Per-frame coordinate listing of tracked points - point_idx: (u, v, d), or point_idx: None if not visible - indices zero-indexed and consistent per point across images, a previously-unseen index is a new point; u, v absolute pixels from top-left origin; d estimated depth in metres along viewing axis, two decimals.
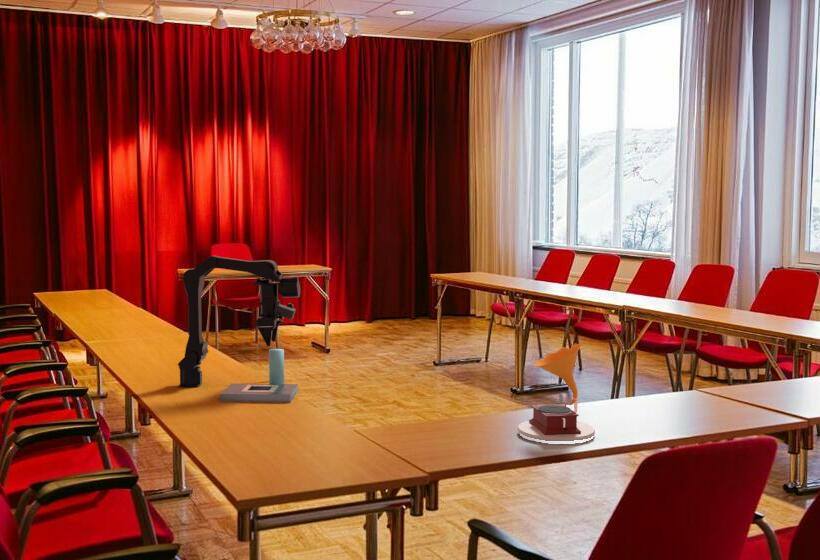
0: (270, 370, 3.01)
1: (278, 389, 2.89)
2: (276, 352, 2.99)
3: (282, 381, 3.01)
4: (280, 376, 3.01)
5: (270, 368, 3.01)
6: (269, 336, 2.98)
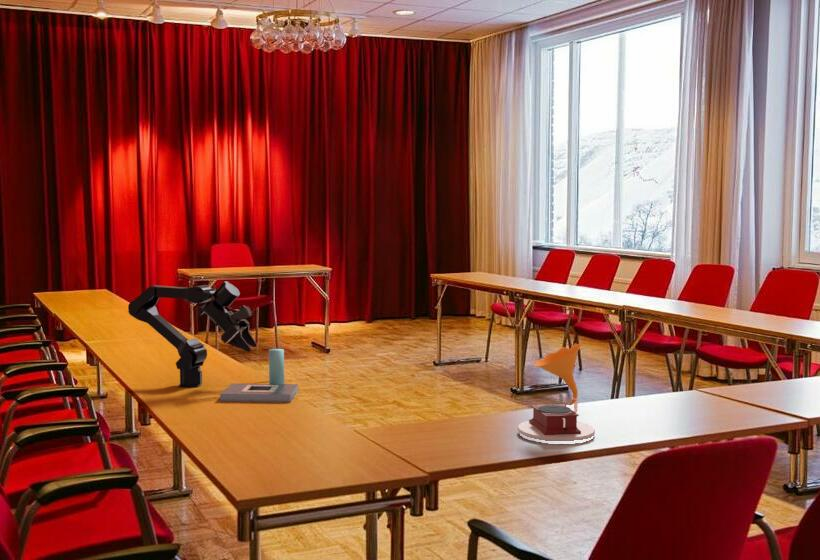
0: (270, 370, 3.01)
1: (278, 389, 2.89)
2: (276, 352, 2.99)
3: (282, 381, 3.01)
4: (280, 376, 3.01)
5: (270, 368, 3.01)
6: (243, 342, 2.96)
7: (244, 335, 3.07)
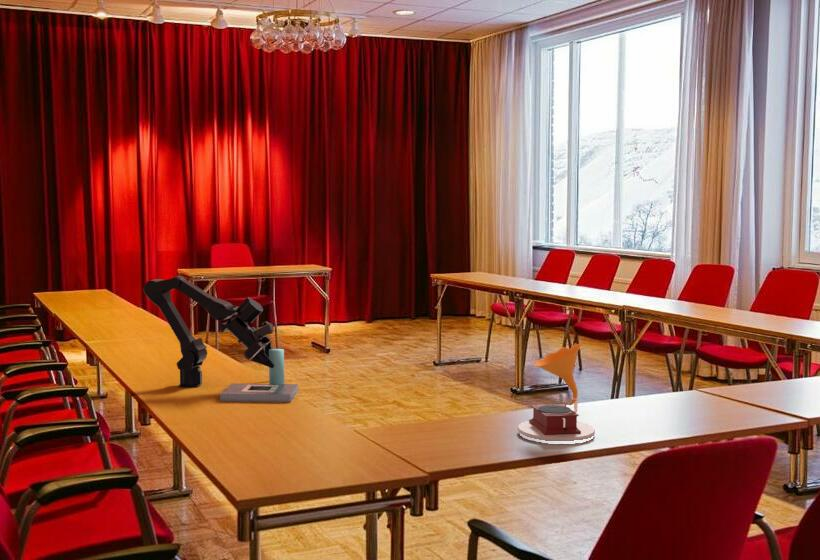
0: (270, 370, 3.01)
1: (278, 389, 2.89)
2: (276, 352, 2.99)
3: (282, 381, 3.01)
4: (280, 376, 3.01)
5: (270, 368, 3.01)
6: (266, 359, 2.96)
7: (266, 351, 3.07)
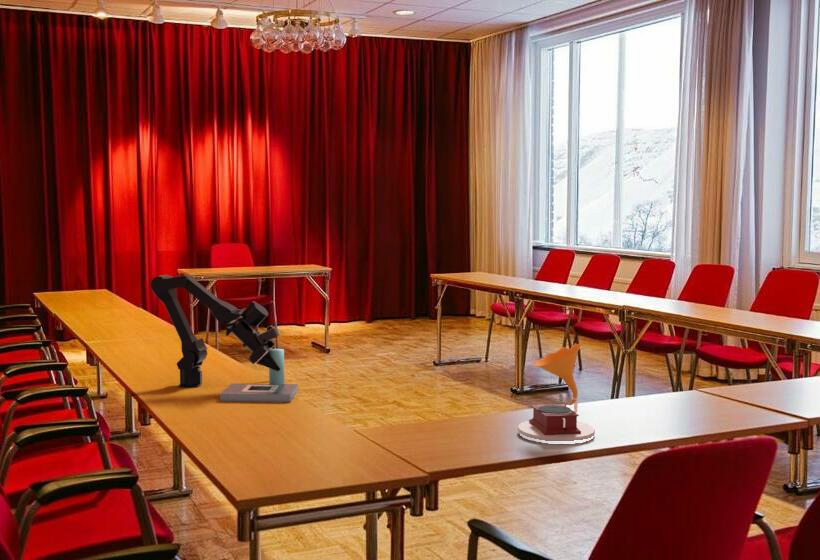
0: (270, 370, 3.01)
1: (278, 389, 2.89)
2: (276, 352, 2.99)
3: (282, 381, 3.01)
4: (280, 376, 3.01)
5: (270, 368, 3.01)
6: (272, 362, 2.98)
7: None
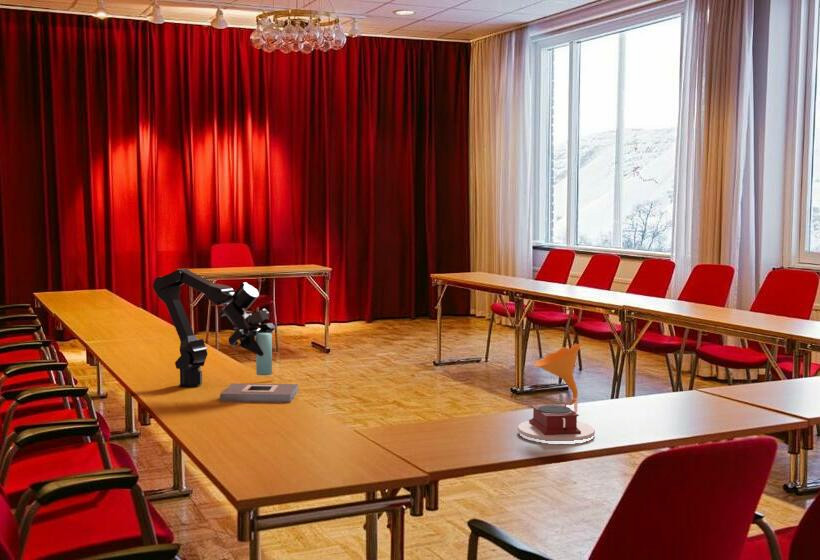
0: (256, 354, 2.90)
1: (278, 389, 2.89)
2: (260, 336, 2.88)
3: (267, 367, 2.89)
4: (265, 362, 2.89)
5: None
6: (255, 346, 2.88)
7: None
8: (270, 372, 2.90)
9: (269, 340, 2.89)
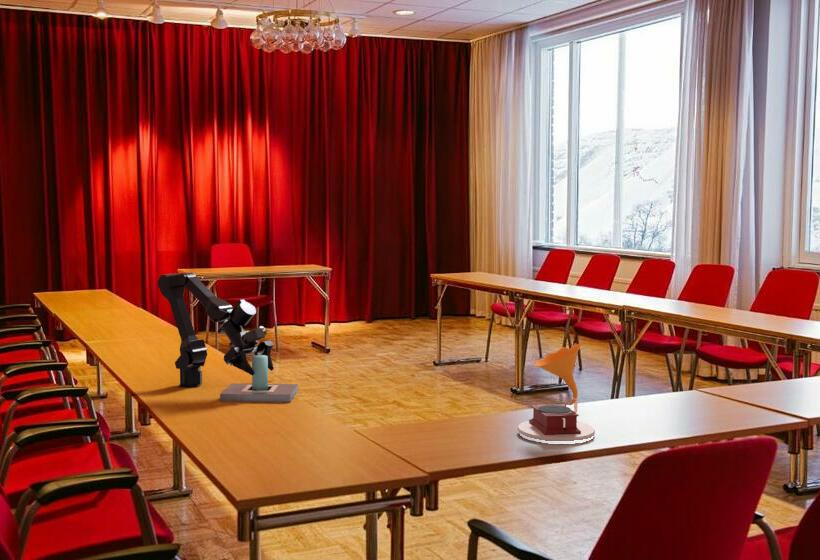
0: (252, 377, 2.89)
1: (278, 389, 2.89)
2: (255, 359, 2.87)
3: (262, 390, 2.88)
4: (260, 384, 2.87)
5: (252, 375, 2.89)
6: (246, 365, 2.84)
7: None
8: None
9: (264, 363, 2.87)
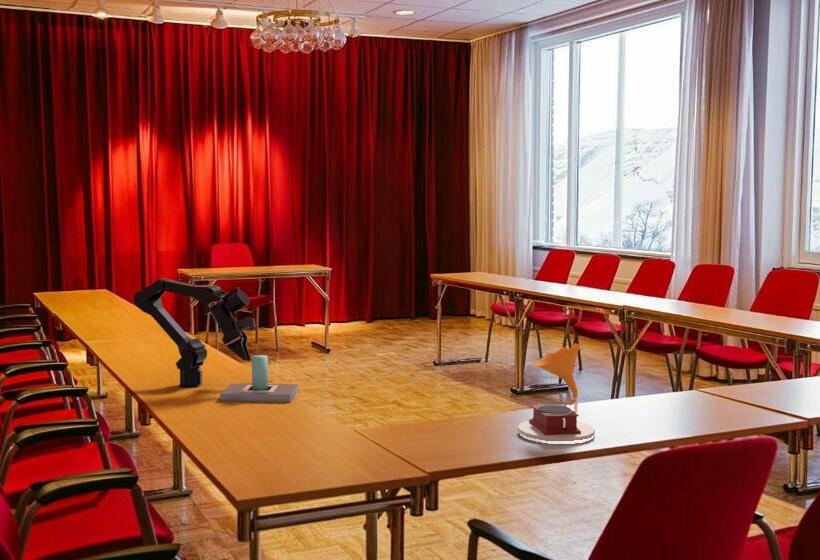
0: (252, 377, 2.89)
1: (278, 389, 2.89)
2: (255, 359, 2.87)
3: (262, 390, 2.88)
4: (260, 384, 2.87)
5: (252, 375, 2.89)
6: (241, 349, 2.94)
7: None
8: None
9: (264, 363, 2.87)
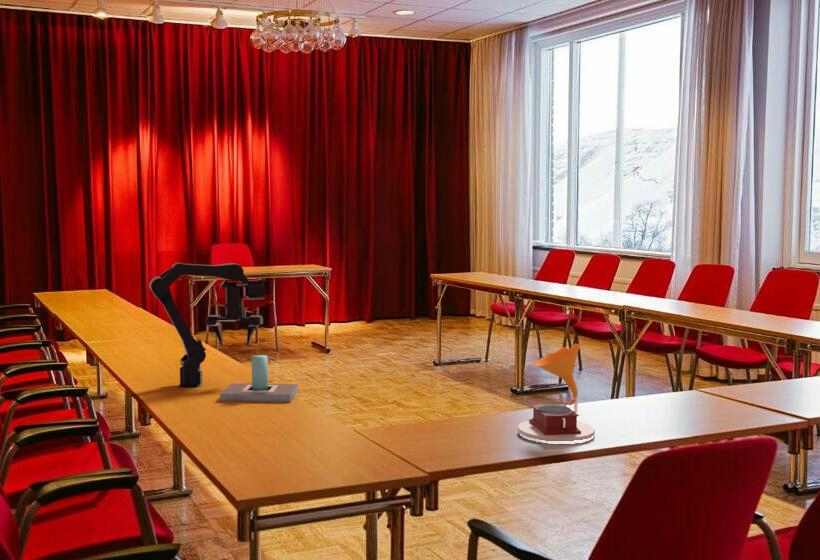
0: (252, 377, 2.89)
1: (278, 389, 2.89)
2: (255, 359, 2.87)
3: (262, 390, 2.88)
4: (260, 384, 2.87)
5: (252, 375, 2.89)
6: (251, 335, 3.11)
7: (220, 329, 3.11)
8: None
9: (264, 363, 2.87)
